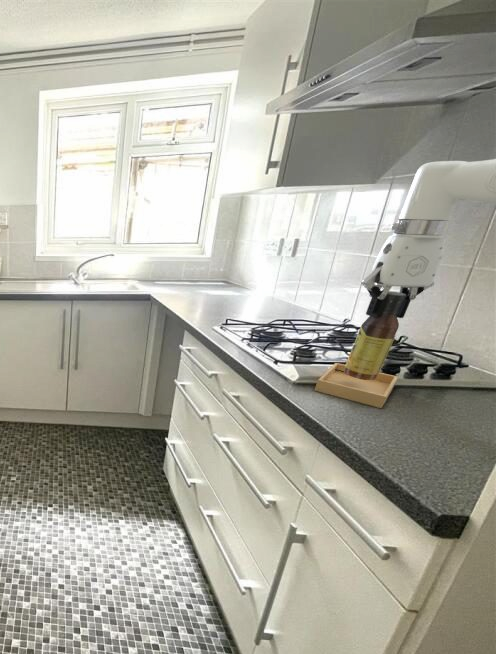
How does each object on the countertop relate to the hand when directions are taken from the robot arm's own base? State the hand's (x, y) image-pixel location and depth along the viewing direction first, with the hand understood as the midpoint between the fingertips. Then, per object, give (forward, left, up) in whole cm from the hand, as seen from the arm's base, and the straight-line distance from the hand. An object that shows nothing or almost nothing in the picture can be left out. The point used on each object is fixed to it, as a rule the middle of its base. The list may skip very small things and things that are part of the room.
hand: (384, 315), depth 93 cm
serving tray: (0, 0, -18) cm, 18 cm away
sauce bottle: (0, 0, -15) cm, 15 cm away
